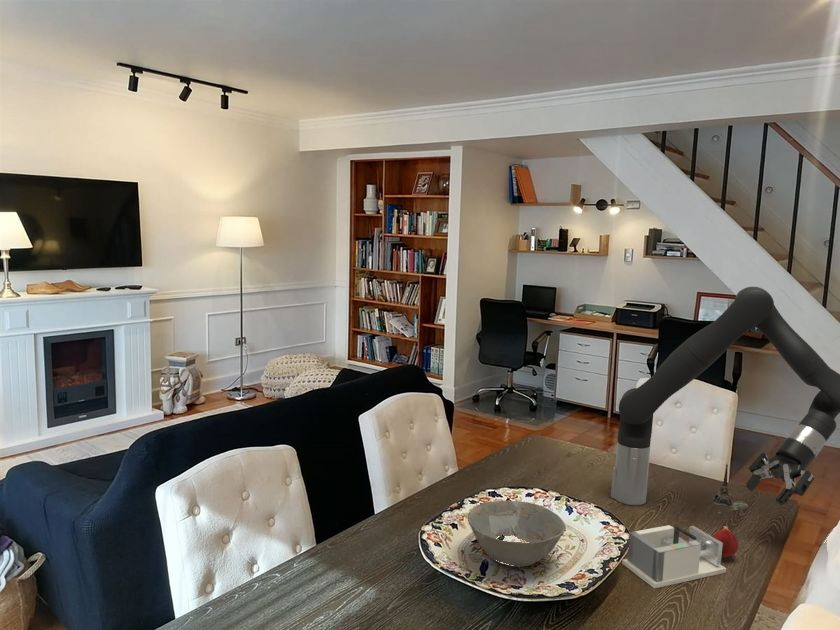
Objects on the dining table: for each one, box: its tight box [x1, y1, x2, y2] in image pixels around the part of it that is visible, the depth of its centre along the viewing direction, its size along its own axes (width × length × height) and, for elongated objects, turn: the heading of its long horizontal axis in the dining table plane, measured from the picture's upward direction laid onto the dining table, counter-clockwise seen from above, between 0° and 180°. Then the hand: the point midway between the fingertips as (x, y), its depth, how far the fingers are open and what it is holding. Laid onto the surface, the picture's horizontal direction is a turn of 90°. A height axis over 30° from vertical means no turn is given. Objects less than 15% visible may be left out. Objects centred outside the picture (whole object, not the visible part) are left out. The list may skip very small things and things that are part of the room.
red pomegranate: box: [712, 525, 739, 559], centre depth 152 cm, size 6×6×8 cm
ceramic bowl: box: [467, 499, 567, 567], centre depth 149 cm, size 22×23×10 cm
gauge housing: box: [621, 524, 727, 590], centre depth 147 cm, size 21×11×8 cm, turn 111°
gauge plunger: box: [662, 524, 723, 566], centre depth 147 cm, size 11×10×9 cm
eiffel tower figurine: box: [712, 463, 749, 515], centre depth 184 cm, size 15×10×13 cm
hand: (763, 495), depth 155 cm, fingers open, 8 cm apart
